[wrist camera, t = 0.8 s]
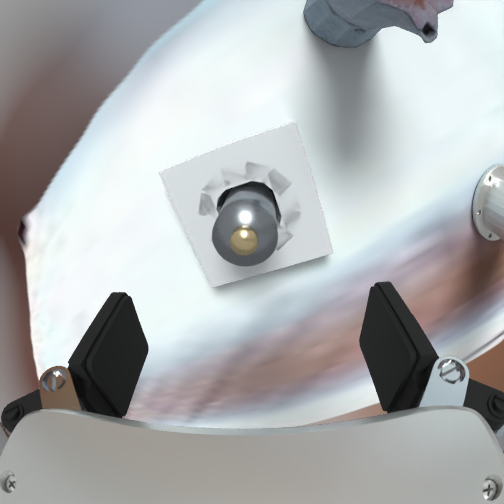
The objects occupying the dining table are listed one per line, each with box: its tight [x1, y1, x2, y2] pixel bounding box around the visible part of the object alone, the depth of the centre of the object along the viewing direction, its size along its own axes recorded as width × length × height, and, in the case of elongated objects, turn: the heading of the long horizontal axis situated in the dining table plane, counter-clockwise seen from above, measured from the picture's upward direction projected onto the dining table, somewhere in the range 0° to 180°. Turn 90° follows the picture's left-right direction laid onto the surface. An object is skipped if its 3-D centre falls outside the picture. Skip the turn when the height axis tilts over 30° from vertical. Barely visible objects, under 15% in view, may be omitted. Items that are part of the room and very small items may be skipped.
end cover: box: [212, 181, 278, 266], centre depth 30 cm, size 6×6×11 cm
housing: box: [159, 122, 333, 288], centre depth 34 cm, size 16×16×3 cm
